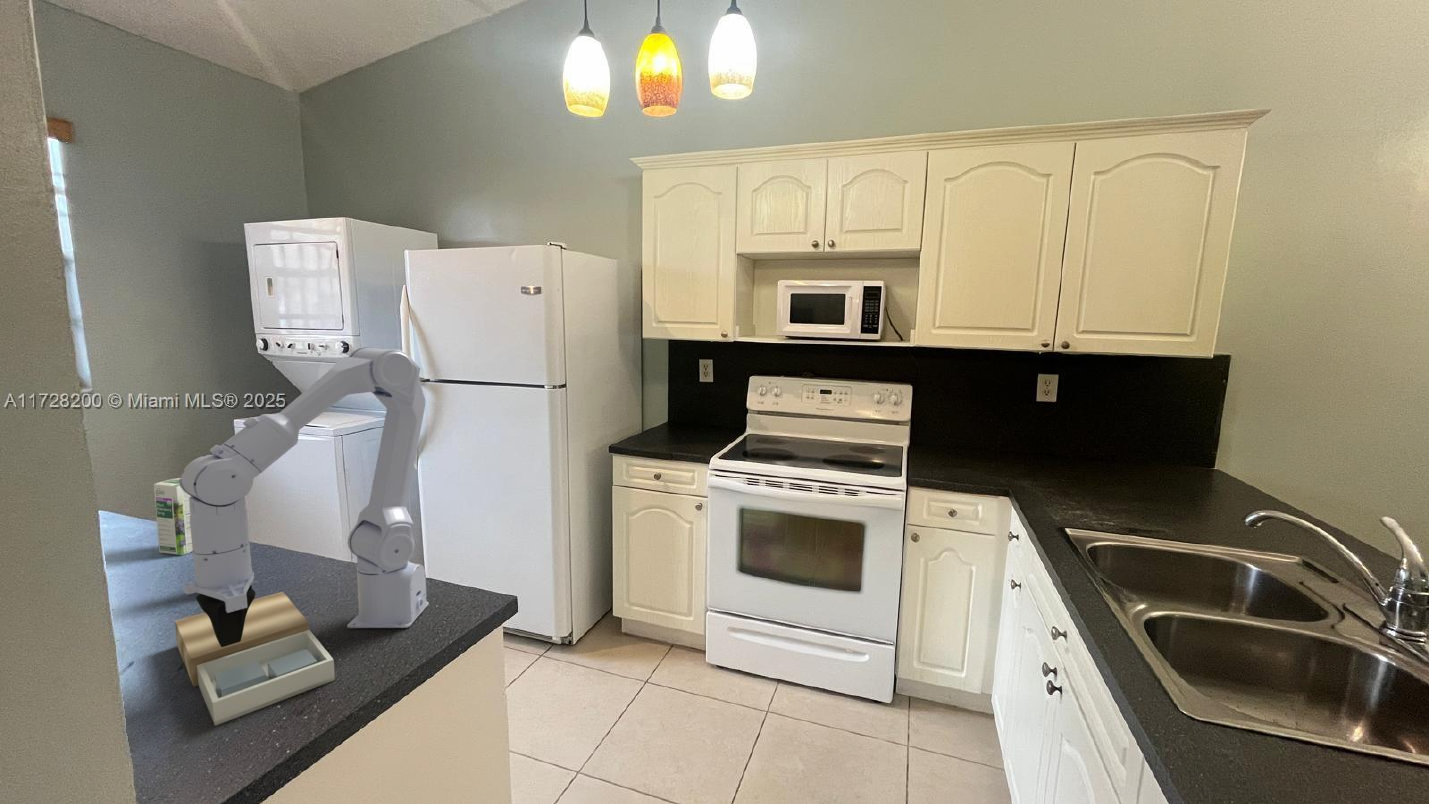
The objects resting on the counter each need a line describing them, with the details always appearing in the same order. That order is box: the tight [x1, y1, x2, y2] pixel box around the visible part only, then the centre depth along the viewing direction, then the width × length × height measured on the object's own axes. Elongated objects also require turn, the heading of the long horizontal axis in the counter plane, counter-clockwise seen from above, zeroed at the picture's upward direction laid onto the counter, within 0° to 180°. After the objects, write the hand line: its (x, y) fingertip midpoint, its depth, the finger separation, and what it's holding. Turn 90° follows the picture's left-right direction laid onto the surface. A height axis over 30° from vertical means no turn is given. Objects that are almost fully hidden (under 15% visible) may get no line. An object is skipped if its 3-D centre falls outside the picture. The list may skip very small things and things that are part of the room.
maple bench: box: [174, 591, 310, 688], centre depth 85 cm, size 14×13×4 cm
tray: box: [197, 629, 336, 727], centre depth 77 cm, size 11×12×3 cm
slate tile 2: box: [267, 649, 317, 679], centre depth 78 cm, size 4×4×2 cm
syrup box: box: [153, 477, 193, 556], centre depth 118 cm, size 6×6×14 cm
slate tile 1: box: [215, 661, 267, 698], centre depth 75 cm, size 4×4×2 cm
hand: (230, 642), depth 78 cm, fingers closed
